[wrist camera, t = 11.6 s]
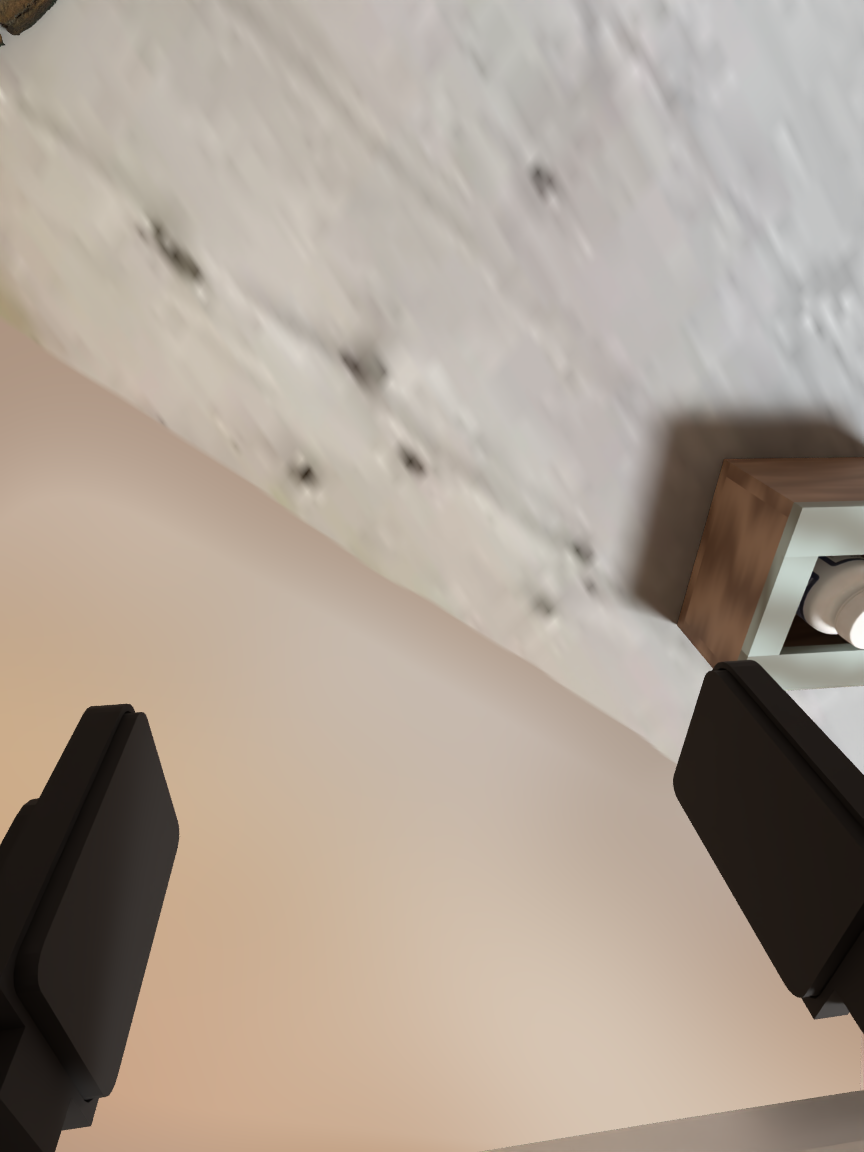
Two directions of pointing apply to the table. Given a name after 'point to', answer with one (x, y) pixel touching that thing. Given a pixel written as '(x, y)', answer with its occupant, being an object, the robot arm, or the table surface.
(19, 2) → the owl figurine
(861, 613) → the pill bottle
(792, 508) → the box
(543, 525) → the table surface
